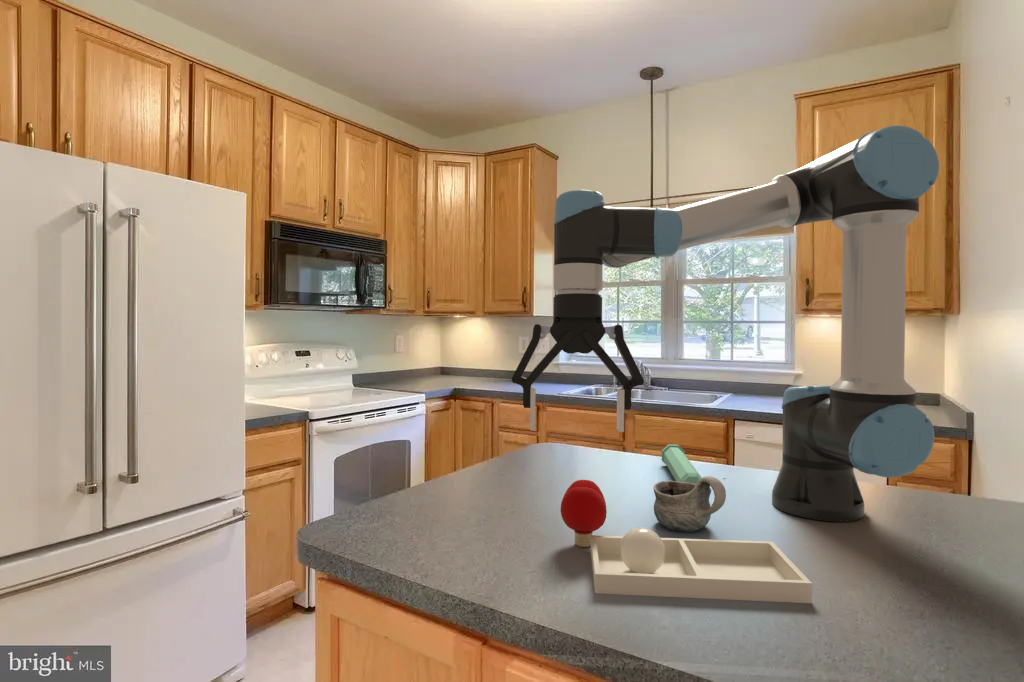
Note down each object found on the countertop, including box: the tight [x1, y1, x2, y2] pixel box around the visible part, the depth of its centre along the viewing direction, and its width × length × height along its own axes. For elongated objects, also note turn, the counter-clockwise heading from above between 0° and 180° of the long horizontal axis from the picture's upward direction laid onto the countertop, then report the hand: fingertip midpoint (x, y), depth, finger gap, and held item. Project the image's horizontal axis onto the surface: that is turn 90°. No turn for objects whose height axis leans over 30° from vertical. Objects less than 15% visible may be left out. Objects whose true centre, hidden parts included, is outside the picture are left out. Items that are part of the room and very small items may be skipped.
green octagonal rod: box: [661, 444, 703, 484], centre depth 123 cm, size 6×6×25 cm
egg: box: [620, 526, 665, 574], centre depth 75 cm, size 6×6×6 cm
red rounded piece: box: [560, 479, 607, 548], centre depth 85 cm, size 9×7×10 cm
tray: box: [590, 534, 813, 604], centre depth 74 cm, size 26×13×3 cm, turn 84°
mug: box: [652, 475, 727, 533], centre depth 92 cm, size 10×12×10 cm
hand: (576, 429), depth 86 cm, fingers open, 13 cm apart
